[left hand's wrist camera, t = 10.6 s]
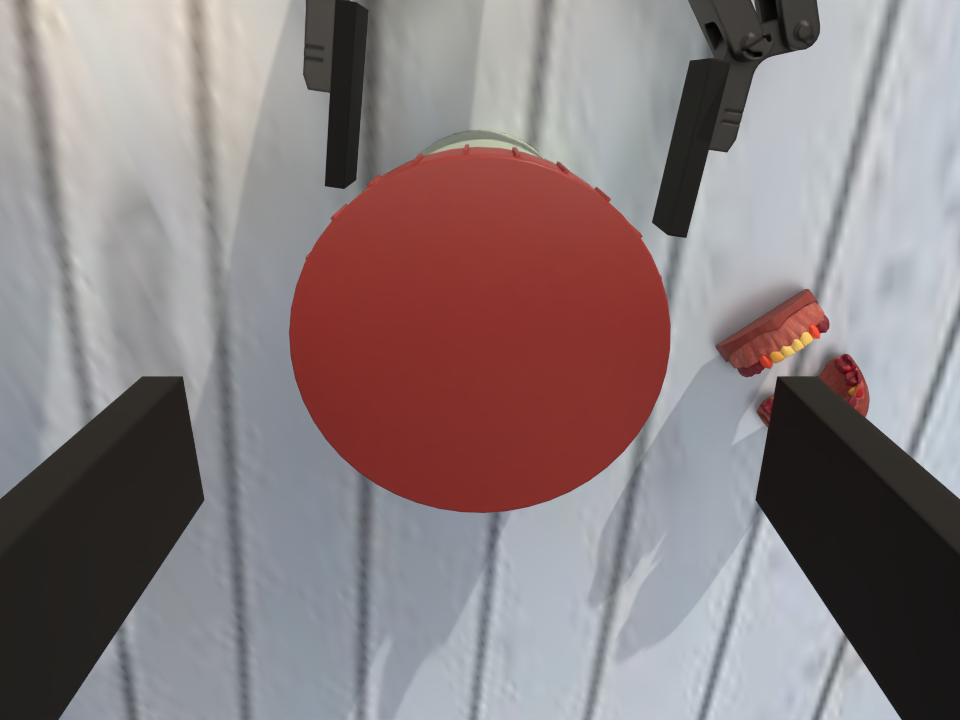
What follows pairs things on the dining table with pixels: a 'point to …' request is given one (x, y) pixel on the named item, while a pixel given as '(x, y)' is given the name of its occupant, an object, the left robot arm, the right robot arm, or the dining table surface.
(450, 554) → the dining table surface
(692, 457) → the dining table surface
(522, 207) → the lid
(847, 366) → the dental model
